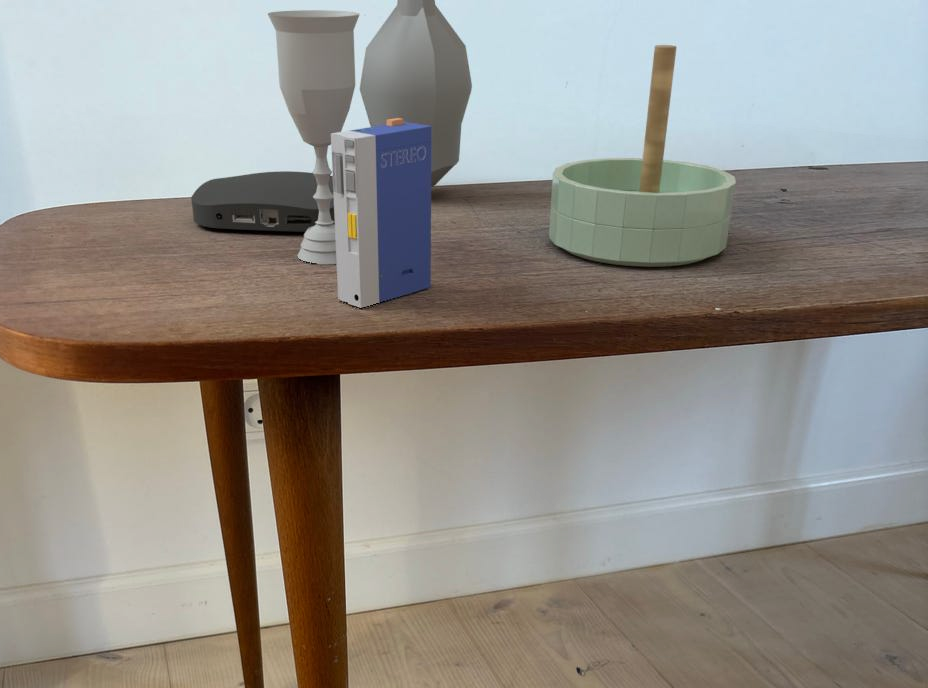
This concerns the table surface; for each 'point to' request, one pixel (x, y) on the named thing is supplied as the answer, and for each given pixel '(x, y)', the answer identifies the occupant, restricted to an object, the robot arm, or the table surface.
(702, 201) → the bowl
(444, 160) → the grey faceted vase
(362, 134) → the walkman
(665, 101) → the stirring stick
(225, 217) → the media streaming box
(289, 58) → the chalice
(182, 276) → the table surface
